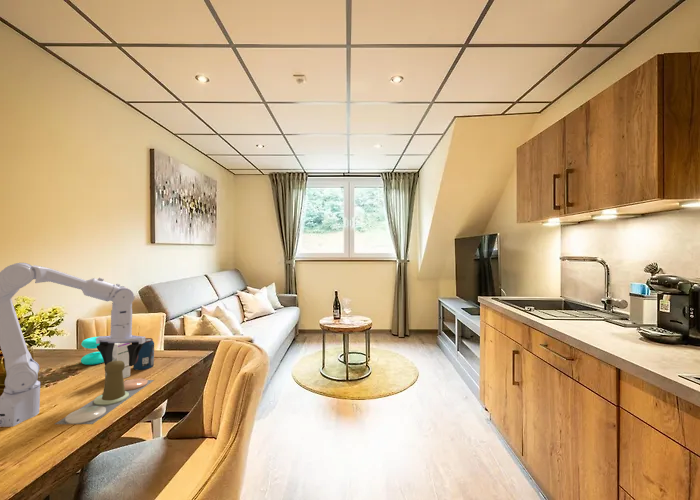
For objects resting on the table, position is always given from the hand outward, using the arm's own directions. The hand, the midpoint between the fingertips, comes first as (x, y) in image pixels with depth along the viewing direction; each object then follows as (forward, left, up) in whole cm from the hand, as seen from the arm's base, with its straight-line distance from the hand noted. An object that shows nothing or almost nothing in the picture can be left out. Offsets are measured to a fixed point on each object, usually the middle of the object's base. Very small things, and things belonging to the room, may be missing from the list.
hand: (120, 365), depth 105 cm
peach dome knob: (+7, 0, -9) cm, 12 cm away
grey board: (-4, 0, -10) cm, 11 cm away
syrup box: (+14, +10, -11) cm, 20 cm away
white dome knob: (-14, 0, -9) cm, 17 cm away
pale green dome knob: (-4, 0, -9) cm, 10 cm away
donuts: (+34, +32, -11) cm, 48 cm away
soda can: (+25, +7, -11) cm, 28 cm away
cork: (-3, 0, -9) cm, 9 cm away
